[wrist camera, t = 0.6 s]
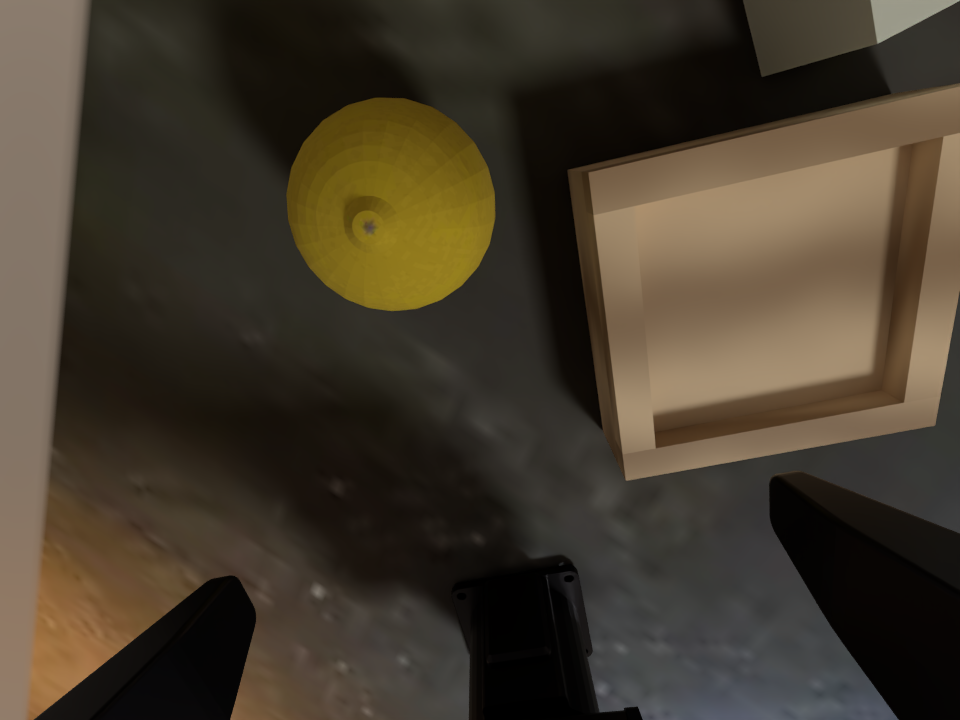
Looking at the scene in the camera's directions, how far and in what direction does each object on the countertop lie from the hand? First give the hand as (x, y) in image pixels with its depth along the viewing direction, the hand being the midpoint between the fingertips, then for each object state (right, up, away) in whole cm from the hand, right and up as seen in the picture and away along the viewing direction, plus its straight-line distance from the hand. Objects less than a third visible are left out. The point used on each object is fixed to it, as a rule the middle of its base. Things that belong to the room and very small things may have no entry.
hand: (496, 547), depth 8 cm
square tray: (+9, +6, +11) cm, 15 cm away
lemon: (-3, +9, +9) cm, 13 cm away
